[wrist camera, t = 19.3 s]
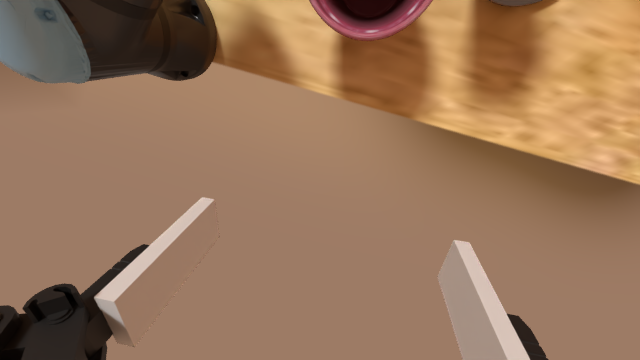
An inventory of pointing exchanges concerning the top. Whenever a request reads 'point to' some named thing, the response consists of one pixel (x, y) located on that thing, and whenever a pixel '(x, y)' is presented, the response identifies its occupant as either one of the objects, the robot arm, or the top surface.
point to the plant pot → (369, 16)
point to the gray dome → (514, 2)
